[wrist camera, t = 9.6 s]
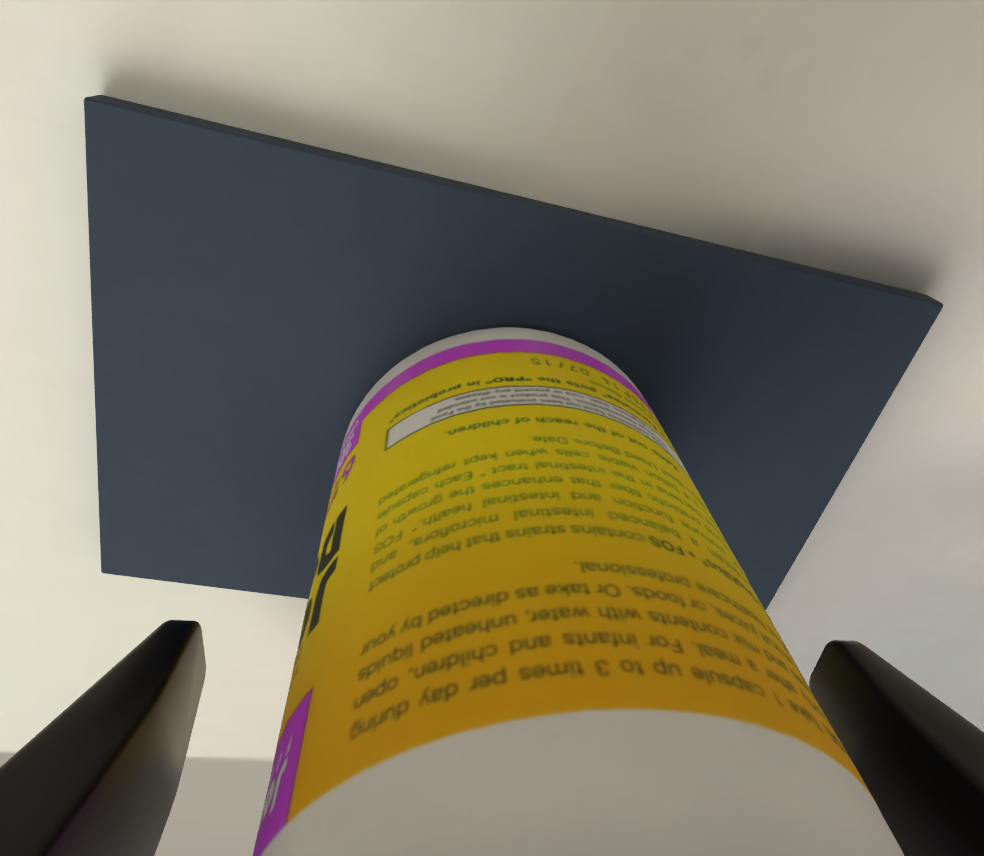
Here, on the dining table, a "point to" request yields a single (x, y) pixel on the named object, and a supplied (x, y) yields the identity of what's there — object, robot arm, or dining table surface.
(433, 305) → the placemat
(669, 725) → the supplement bottle
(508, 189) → the dining table surface
